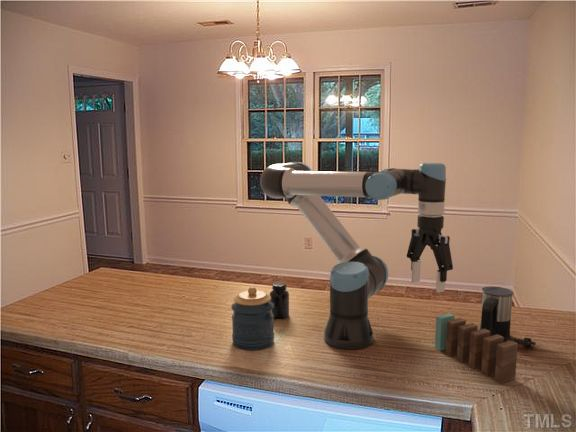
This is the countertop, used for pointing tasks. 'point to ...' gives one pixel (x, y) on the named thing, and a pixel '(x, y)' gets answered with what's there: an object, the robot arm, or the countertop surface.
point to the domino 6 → (506, 362)
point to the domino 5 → (490, 354)
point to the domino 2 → (453, 335)
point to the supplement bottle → (280, 300)
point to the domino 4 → (477, 348)
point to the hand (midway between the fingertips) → (427, 286)
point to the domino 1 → (442, 330)
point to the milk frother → (499, 313)
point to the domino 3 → (464, 341)
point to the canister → (252, 320)
